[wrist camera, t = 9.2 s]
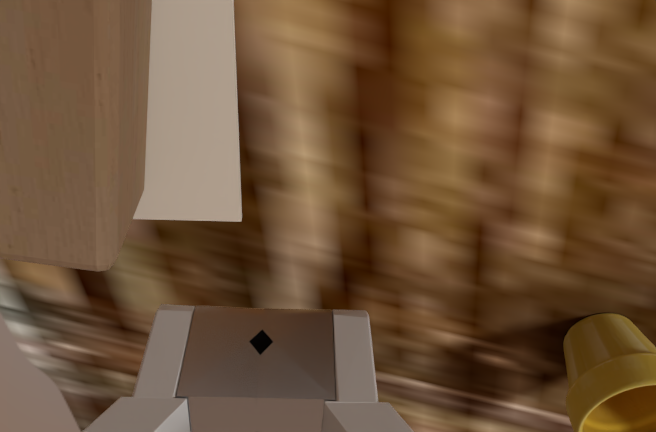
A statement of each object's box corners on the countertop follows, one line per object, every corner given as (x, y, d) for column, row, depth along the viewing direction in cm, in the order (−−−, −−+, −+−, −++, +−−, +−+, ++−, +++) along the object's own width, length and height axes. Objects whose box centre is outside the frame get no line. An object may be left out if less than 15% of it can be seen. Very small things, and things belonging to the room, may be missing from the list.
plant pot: (521, 332, 58) (555, 421, 50) (626, 279, 55) (680, 365, 47) (571, 387, 63) (609, 476, 55) (670, 341, 60) (725, 429, 52)
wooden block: (-23, -128, 35) (9, 172, 46) (-123, -97, 27) (-55, 257, 38) (158, -89, 36) (146, 193, 48) (115, -49, 28) (112, 280, 39)
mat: (-36, -60, 38) (-41, -58, 37) (231, -48, 38) (230, -46, 38) (37, 212, 49) (35, 216, 49) (241, 217, 50) (241, 221, 49)
